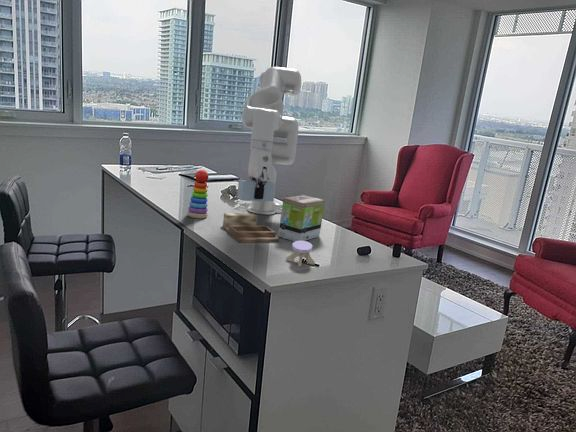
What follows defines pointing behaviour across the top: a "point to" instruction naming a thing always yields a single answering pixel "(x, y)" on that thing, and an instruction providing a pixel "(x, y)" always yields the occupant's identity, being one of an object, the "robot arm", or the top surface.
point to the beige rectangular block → (239, 219)
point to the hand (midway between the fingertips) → (255, 196)
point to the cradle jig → (252, 233)
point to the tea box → (301, 218)
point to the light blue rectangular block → (248, 190)
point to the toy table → (301, 252)
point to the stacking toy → (199, 196)
